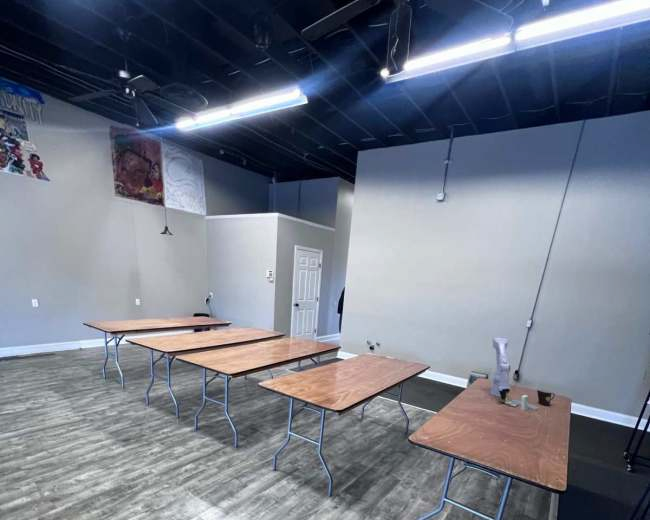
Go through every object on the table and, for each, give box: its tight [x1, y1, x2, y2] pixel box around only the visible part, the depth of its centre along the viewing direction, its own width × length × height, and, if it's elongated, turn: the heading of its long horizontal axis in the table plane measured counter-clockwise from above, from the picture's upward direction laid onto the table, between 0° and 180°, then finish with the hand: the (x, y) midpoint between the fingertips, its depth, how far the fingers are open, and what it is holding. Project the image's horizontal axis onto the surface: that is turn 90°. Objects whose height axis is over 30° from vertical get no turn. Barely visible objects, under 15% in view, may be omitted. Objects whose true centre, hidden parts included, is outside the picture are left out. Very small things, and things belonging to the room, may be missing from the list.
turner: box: [499, 393, 519, 407], centre depth 213 cm, size 10×6×7 cm, turn 38°
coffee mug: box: [536, 388, 556, 407], centre depth 217 cm, size 12×9×10 cm
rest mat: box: [509, 398, 540, 411], centre depth 214 cm, size 16×8×1 cm, turn 39°
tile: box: [520, 394, 529, 412], centre depth 205 cm, size 2×7×9 cm, turn 129°
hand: (503, 399), depth 215 cm, fingers closed on turner, 2 cm apart
